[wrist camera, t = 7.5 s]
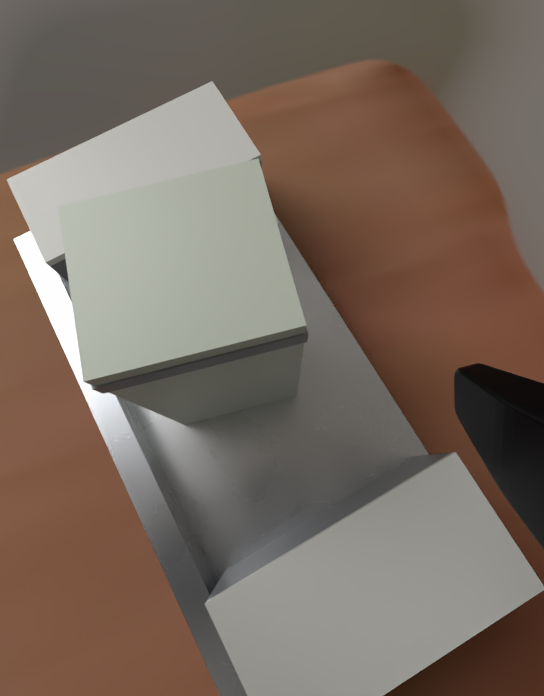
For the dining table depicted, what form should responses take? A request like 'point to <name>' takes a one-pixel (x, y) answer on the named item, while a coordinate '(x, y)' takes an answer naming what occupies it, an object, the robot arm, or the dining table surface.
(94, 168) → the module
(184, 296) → the block
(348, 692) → the block
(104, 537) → the dining table surface
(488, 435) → the robot arm
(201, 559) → the grey base plate
